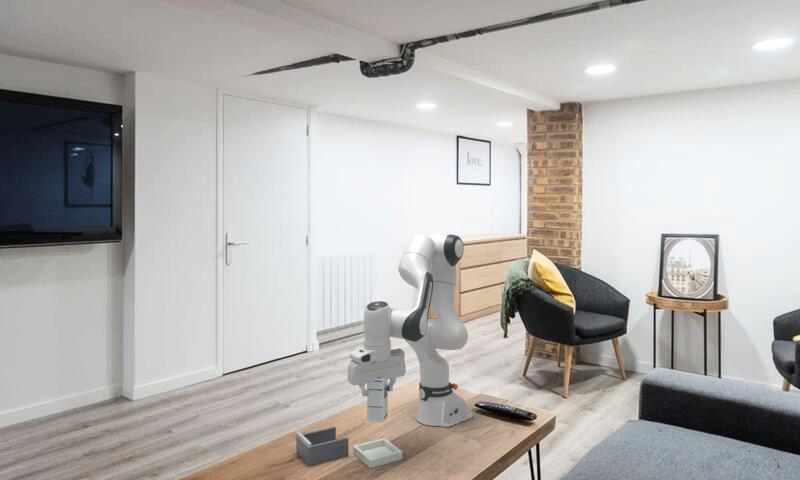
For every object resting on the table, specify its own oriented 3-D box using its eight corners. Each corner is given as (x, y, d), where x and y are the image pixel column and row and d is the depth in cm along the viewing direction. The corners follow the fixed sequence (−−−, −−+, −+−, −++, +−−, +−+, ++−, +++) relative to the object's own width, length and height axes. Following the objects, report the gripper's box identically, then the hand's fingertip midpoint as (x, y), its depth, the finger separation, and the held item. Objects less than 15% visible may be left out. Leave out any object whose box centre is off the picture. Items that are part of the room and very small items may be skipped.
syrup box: (384, 422, 178) (384, 378, 178) (366, 421, 179) (366, 377, 179) (387, 416, 184) (388, 373, 183) (370, 414, 185) (371, 372, 184)
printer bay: (334, 443, 193) (334, 423, 192) (348, 455, 183) (348, 434, 183) (296, 452, 185) (296, 431, 185) (308, 466, 176) (308, 444, 176)
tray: (384, 445, 191) (384, 438, 191) (402, 459, 181) (402, 451, 180) (353, 453, 185) (353, 446, 185) (370, 468, 174) (370, 460, 174)
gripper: (399, 345, 188) (399, 385, 189) (345, 354, 178) (345, 396, 179) (409, 349, 183) (409, 390, 184) (353, 358, 172) (354, 402, 173)
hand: (377, 393), depth 181 cm, fingers closed on syrup box, 8 cm apart
